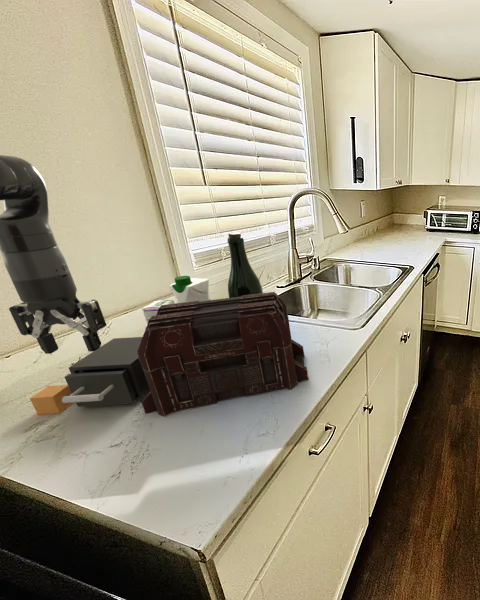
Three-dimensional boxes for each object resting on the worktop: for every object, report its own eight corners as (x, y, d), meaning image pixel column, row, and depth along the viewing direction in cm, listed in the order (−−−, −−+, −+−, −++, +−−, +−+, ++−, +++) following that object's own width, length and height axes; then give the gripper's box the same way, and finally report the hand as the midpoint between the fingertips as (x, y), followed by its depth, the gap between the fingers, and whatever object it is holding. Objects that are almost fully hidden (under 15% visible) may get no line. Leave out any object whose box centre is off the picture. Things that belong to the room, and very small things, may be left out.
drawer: (118, 417, 69) (105, 386, 66) (59, 421, 68) (43, 390, 65) (165, 371, 85) (156, 345, 82) (117, 374, 84) (107, 347, 81)
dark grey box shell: (143, 400, 76) (130, 364, 72) (84, 404, 75) (68, 367, 71) (175, 367, 89) (166, 335, 85) (125, 370, 88) (113, 338, 84)
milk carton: (180, 338, 105) (163, 279, 98) (202, 326, 113) (188, 270, 106) (203, 340, 103) (187, 280, 96) (223, 328, 111) (210, 272, 104)
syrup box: (176, 351, 97) (163, 306, 92) (155, 352, 96) (141, 307, 91) (186, 342, 102) (174, 299, 97) (167, 343, 102) (154, 300, 96)
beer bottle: (239, 328, 111) (218, 231, 99) (271, 324, 114) (255, 229, 102) (233, 342, 102) (209, 236, 90) (268, 338, 104) (250, 234, 92)
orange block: (37, 415, 71) (29, 398, 70) (56, 401, 76) (48, 385, 74) (60, 413, 72) (52, 396, 70) (76, 400, 76) (69, 384, 74)
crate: (140, 422, 69) (107, 334, 61) (165, 374, 85) (142, 300, 78) (309, 386, 80) (299, 308, 73) (303, 350, 97) (294, 283, 89)
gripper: (-25, 280, 56) (16, 363, 62) (65, 277, 57) (97, 358, 63) (18, 268, 63) (52, 343, 69) (98, 266, 64) (124, 340, 70)
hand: (73, 350), depth 66 cm, fingers open, 7 cm apart
